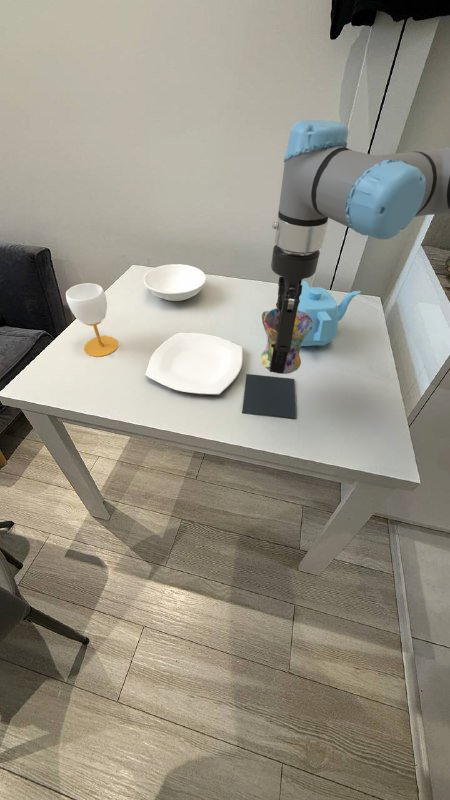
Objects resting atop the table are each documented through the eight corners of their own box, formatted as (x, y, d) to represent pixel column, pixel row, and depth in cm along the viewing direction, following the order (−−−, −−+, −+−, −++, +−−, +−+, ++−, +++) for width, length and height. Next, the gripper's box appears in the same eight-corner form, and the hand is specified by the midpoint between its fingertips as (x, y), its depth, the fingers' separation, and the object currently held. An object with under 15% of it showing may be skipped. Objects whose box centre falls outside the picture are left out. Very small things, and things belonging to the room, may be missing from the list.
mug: (311, 367, 69) (323, 325, 61) (277, 384, 65) (285, 340, 57) (274, 338, 76) (282, 296, 68) (242, 351, 72) (245, 309, 64)
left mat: (295, 419, 73) (296, 418, 72) (242, 413, 73) (242, 412, 73) (294, 379, 82) (294, 378, 81) (246, 375, 82) (246, 373, 82)
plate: (224, 408, 74) (225, 402, 73) (134, 384, 79) (132, 378, 77) (251, 349, 89) (252, 343, 88) (174, 332, 94) (173, 326, 93)
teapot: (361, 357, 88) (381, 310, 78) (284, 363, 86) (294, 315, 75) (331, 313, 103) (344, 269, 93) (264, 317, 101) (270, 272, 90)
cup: (76, 351, 87) (55, 295, 75) (98, 333, 93) (82, 279, 81) (103, 360, 84) (86, 305, 73) (125, 341, 90) (112, 287, 79)
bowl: (210, 284, 115) (210, 266, 110) (200, 314, 101) (200, 295, 96) (155, 279, 116) (152, 261, 111) (138, 309, 102) (134, 290, 97)
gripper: (274, 222, 60) (261, 326, 77) (272, 275, 45) (256, 390, 62) (315, 225, 60) (293, 329, 76) (326, 279, 45) (296, 394, 61)
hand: (276, 356), depth 69 cm, fingers closed on mug, 9 cm apart
